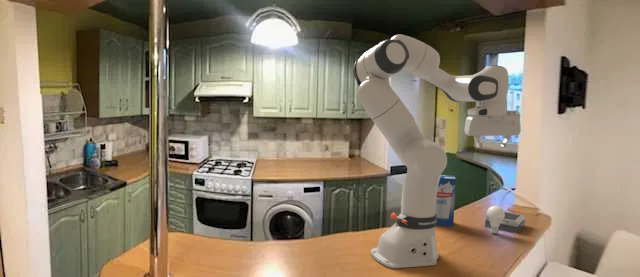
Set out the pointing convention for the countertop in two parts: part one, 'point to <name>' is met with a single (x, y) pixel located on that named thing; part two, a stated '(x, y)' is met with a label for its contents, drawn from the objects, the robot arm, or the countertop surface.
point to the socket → (510, 222)
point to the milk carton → (445, 200)
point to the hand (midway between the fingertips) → (491, 147)
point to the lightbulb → (495, 217)
